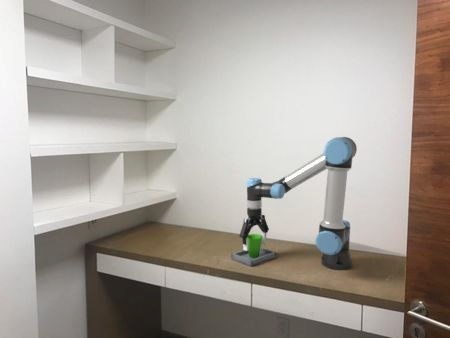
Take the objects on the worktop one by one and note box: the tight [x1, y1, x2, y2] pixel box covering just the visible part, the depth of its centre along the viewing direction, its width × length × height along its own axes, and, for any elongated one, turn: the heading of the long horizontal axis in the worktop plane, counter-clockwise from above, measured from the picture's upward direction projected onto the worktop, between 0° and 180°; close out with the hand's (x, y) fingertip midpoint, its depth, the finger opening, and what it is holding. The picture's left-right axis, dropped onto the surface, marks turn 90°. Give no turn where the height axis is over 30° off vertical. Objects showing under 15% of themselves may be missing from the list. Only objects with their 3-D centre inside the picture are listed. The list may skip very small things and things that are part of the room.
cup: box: [247, 233, 263, 258], centre depth 190 cm, size 9×9×11 cm
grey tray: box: [230, 246, 277, 268], centre depth 190 cm, size 14×19×3 cm
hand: (254, 247), depth 190 cm, fingers open, 13 cm apart
